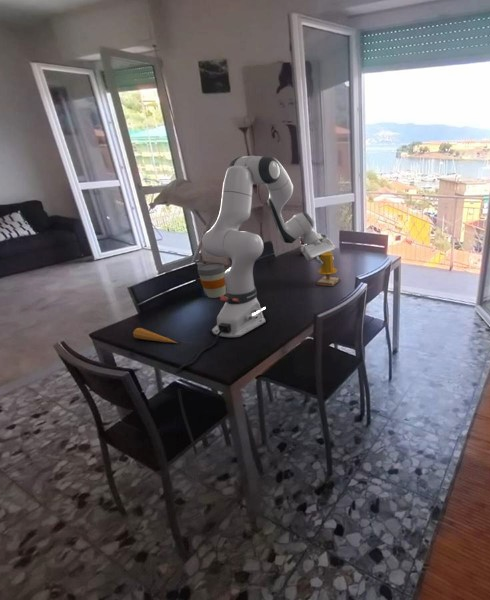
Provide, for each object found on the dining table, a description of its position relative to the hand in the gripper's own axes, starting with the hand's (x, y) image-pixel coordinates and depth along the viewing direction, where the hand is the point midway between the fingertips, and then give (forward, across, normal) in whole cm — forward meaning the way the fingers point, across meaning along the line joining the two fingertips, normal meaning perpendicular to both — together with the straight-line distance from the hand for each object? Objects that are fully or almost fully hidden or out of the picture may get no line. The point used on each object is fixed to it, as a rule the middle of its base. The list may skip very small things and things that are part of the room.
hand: (327, 262), depth 187 cm
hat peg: (+8, 0, +9) cm, 12 cm away
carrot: (-4, -84, +20) cm, 86 cm away
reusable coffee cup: (-19, -43, +35) cm, 59 cm away
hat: (+3, 0, +4) cm, 5 cm away
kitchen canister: (-24, +34, +41) cm, 58 cm away
